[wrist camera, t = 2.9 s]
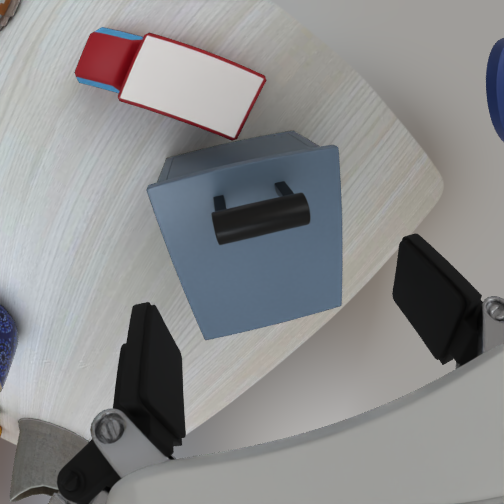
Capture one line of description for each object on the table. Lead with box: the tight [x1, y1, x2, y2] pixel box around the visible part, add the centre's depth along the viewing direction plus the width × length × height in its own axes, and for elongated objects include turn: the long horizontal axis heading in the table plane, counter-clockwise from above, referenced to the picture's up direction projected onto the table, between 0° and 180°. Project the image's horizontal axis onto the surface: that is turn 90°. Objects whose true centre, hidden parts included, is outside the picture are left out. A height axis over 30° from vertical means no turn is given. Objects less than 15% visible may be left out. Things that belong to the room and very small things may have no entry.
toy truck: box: [75, 27, 266, 141], centre depth 20 cm, size 6×15×7 cm, turn 64°
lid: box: [147, 145, 342, 340], centre depth 20 cm, size 14×13×5 cm
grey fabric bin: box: [10, 418, 89, 502], centre depth 48 cm, size 23×32×25 cm
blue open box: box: [157, 131, 320, 183], centre depth 27 cm, size 14×13×10 cm
